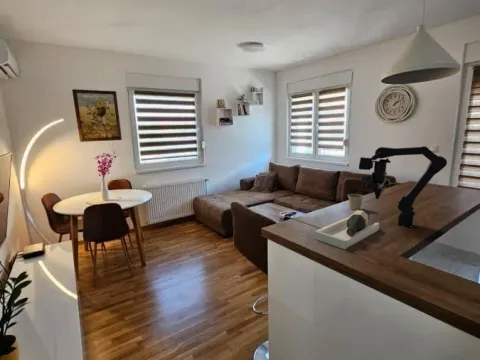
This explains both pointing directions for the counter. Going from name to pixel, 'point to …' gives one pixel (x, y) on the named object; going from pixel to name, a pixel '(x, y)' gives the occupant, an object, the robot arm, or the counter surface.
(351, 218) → the wine bottle
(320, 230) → the tray
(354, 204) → the flower pot
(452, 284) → the counter surface
